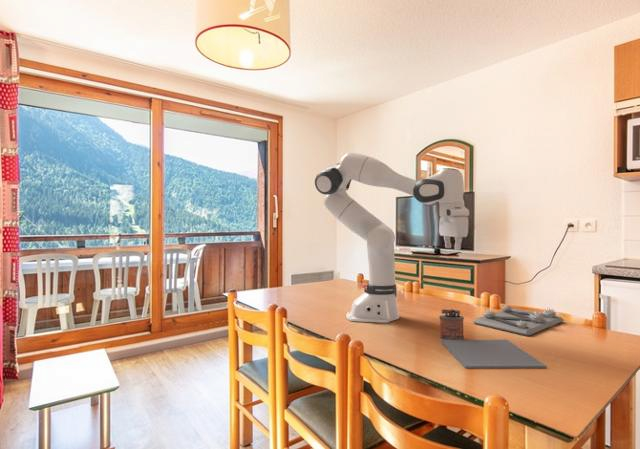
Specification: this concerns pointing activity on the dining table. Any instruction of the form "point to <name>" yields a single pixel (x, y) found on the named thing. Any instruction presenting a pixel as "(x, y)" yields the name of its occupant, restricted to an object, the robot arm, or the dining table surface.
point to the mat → (490, 354)
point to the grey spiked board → (519, 320)
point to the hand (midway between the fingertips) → (452, 248)
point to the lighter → (451, 325)
